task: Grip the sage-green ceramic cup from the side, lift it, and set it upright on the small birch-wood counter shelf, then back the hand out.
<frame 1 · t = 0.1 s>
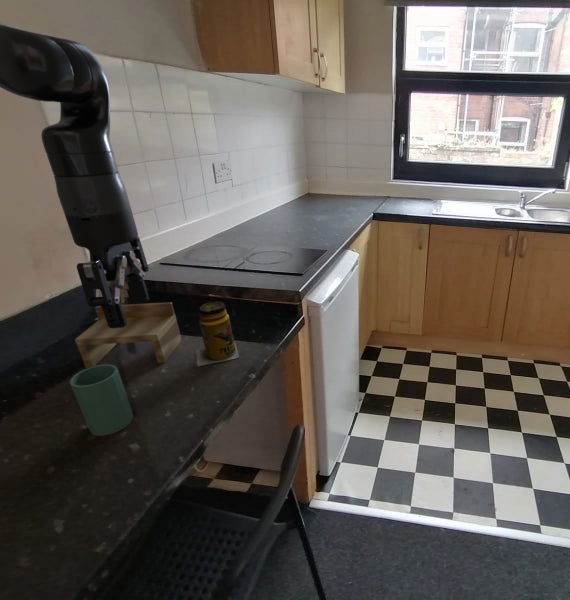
hand: (130, 313, 62), 21 cm above the counter, tool pointing down, fingers open, 8 cm apart
cup: (112, 422, 70), on the counter
condiment: (217, 355, 90), on the counter
shelf: (136, 353, 91), on the counter
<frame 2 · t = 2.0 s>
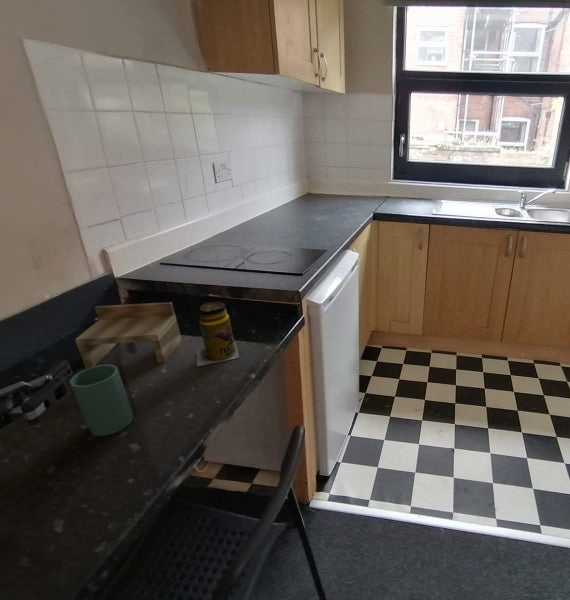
hand: (31, 369, 53), 18 cm above the counter, tool horizontal, fingers open, 8 cm apart
nothing on the counter moved.
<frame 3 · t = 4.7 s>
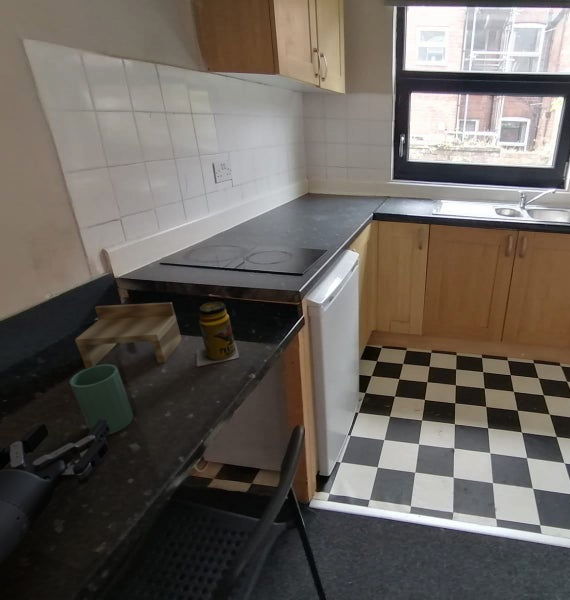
hand: (74, 425, 61), 6 cm above the counter, tool horizontal, fingers open, 8 cm apart
nothing on the counter moved.
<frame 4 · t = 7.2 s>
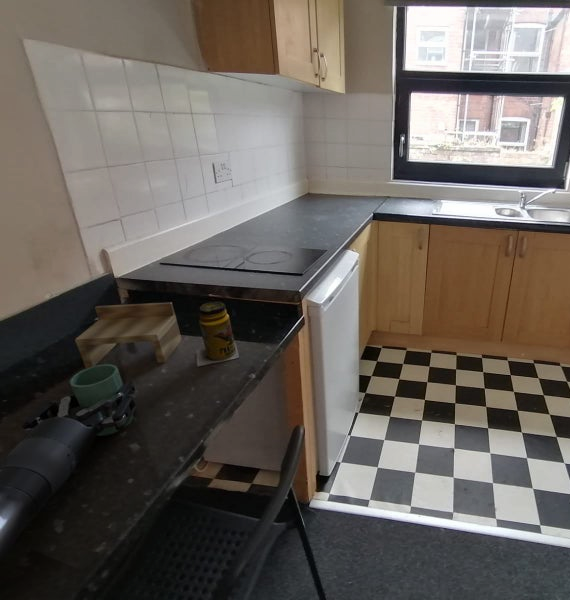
hand: (108, 386, 70), 6 cm above the counter, tool horizontal, fingers closed on cup, 6 cm apart
cup: (112, 422, 70), on the counter, touching gripper
everything else where it was.
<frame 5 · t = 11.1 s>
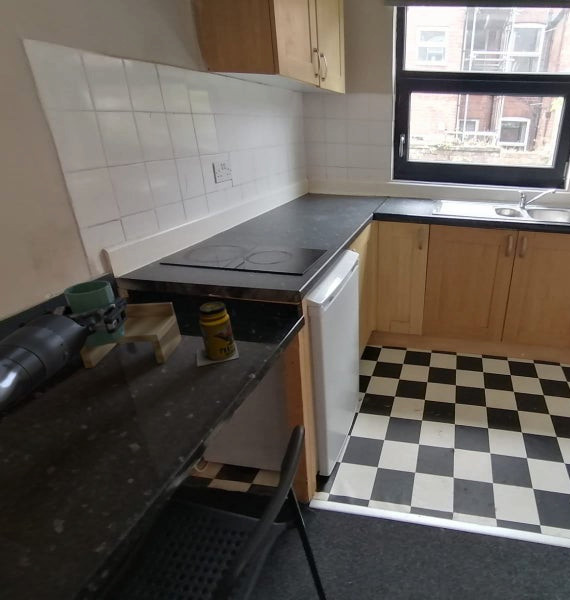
hand: (101, 302, 73), 18 cm above the counter, tool horizontal, fingers closed on cup, 6 cm apart
cup: (104, 337, 74), point 12 cm above the counter, touching gripper
everything else where it was.
when the fingers open (13 cm above the counter, at t = 15.2 s): cup stays where it is, resting on shelf.
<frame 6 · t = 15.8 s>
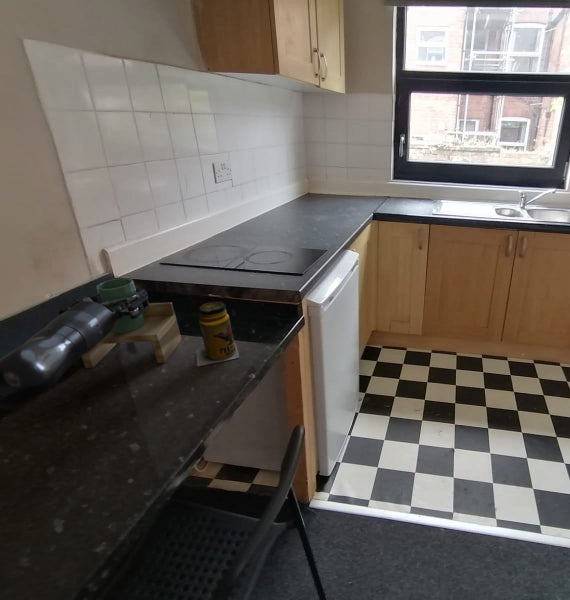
hand: (123, 294, 87), 14 cm above the counter, tool horizontal, fingers open, 8 cm apart
cup: (128, 325, 88), point 7 cm above the counter, touching shelf
everything else where it was.
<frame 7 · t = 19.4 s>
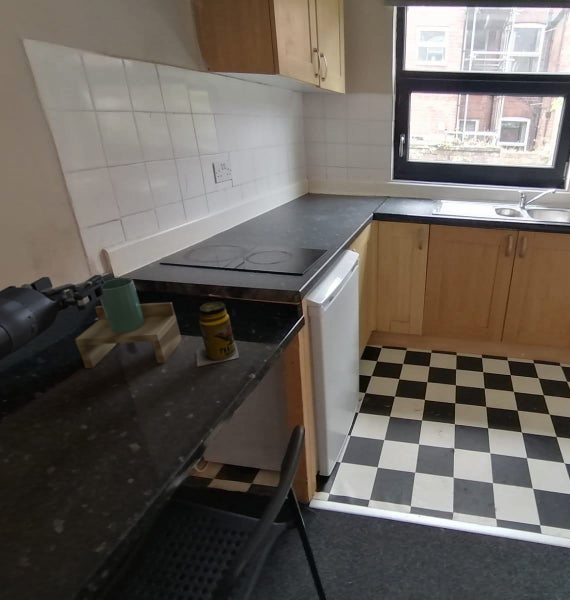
hand: (74, 280, 72), 22 cm above the counter, tool horizontal, fingers open, 8 cm apart
nothing on the counter moved.
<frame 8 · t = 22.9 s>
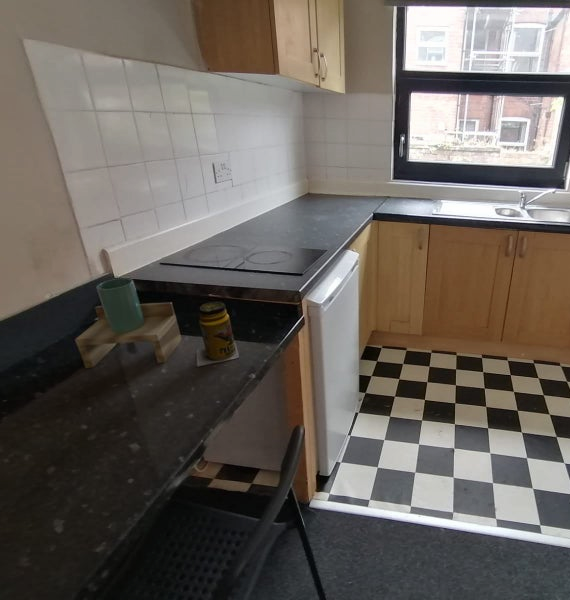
nothing on the counter moved.
at the end: cup inside the target area on the shelf (0.1 cm from its centre), point 7.0 cm above the shelf's base; cup tilted 0°; the gripper is holding nothing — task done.
